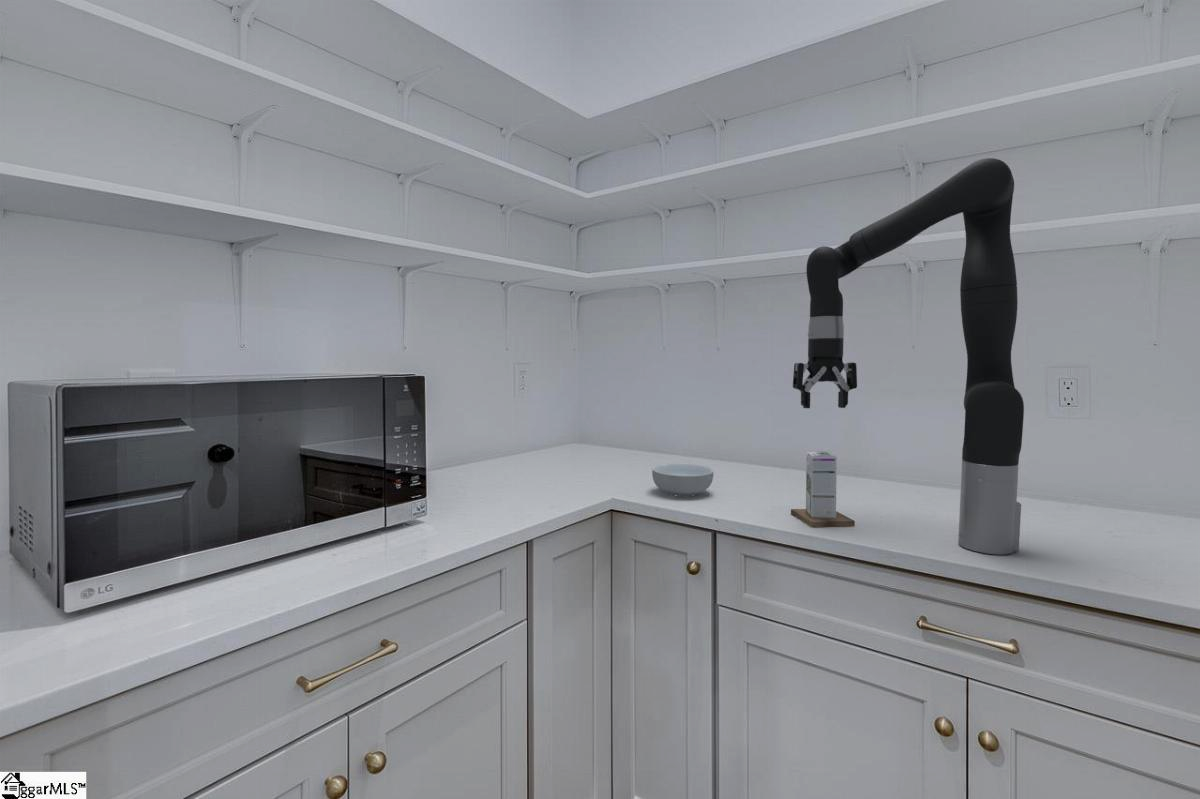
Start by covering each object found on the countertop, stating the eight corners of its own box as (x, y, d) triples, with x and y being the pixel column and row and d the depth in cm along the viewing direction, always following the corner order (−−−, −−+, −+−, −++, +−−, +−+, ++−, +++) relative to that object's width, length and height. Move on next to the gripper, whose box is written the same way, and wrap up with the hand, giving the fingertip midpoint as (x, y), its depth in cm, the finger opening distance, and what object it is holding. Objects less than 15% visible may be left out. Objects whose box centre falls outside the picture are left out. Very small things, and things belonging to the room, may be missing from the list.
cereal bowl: (639, 493, 161) (639, 468, 160) (678, 484, 172) (678, 460, 171) (687, 504, 148) (687, 477, 147) (725, 494, 159) (725, 469, 159)
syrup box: (836, 518, 130) (838, 455, 129) (809, 517, 131) (811, 455, 130) (830, 512, 136) (832, 451, 135) (804, 511, 137) (805, 451, 136)
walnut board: (830, 512, 140) (830, 508, 139) (854, 526, 129) (854, 520, 129) (790, 514, 139) (790, 509, 138) (812, 527, 128) (812, 522, 128)
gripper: (803, 336, 126) (801, 409, 127) (864, 336, 128) (862, 408, 129) (788, 337, 134) (787, 407, 135) (846, 337, 135) (845, 406, 136)
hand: (824, 407), depth 132 cm, fingers open, 8 cm apart
